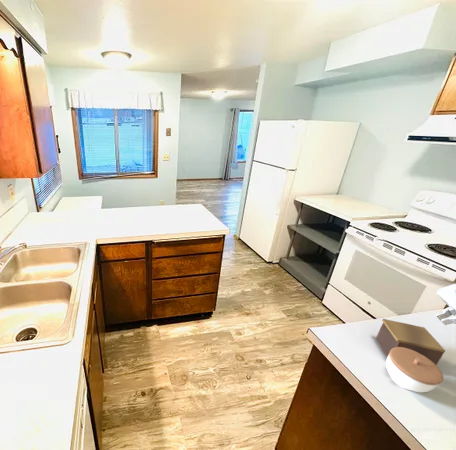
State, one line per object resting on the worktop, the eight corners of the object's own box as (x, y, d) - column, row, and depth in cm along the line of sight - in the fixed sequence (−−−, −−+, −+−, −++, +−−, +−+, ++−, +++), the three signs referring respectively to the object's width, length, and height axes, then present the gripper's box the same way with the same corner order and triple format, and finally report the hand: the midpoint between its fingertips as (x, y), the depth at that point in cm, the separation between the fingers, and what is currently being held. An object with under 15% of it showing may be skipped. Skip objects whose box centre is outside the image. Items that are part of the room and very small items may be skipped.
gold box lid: (396, 341, 74) (397, 339, 74) (381, 320, 82) (382, 318, 82) (444, 352, 70) (445, 350, 70) (423, 329, 79) (424, 327, 79)
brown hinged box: (389, 361, 77) (399, 342, 74) (375, 338, 85) (383, 320, 82) (431, 372, 74) (444, 352, 71) (413, 347, 82) (423, 329, 79)
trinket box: (385, 388, 69) (399, 367, 65) (375, 357, 77) (387, 337, 73) (437, 407, 64) (455, 386, 60) (420, 372, 73) (435, 352, 69)
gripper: (549, 338, 57) (473, 354, 64) (479, 290, 75) (425, 307, 82) (533, 318, 57) (458, 337, 64) (466, 275, 75) (414, 293, 82)
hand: (439, 320), depth 73 cm, fingers closed
